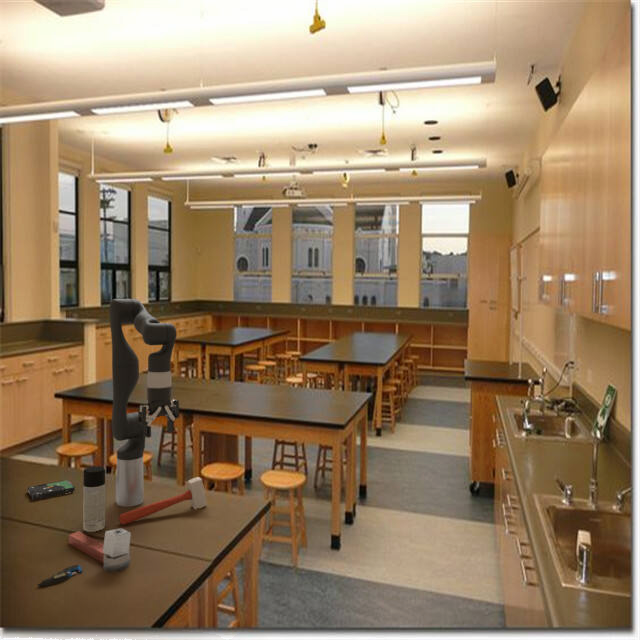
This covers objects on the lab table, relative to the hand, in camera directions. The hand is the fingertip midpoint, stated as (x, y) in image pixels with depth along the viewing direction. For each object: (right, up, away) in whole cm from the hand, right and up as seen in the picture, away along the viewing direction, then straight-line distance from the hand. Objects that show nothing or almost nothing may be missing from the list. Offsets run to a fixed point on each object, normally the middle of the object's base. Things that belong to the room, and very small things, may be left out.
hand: (159, 434), depth 175 cm
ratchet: (-14, -33, -15) cm, 38 cm away
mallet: (-3, -32, +15) cm, 35 cm away
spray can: (-22, -32, +3) cm, 39 cm away
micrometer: (-19, -34, -27) cm, 47 cm away
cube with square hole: (-6, -29, -21) cm, 36 cm away
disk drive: (-51, -30, +33) cm, 68 cm away
